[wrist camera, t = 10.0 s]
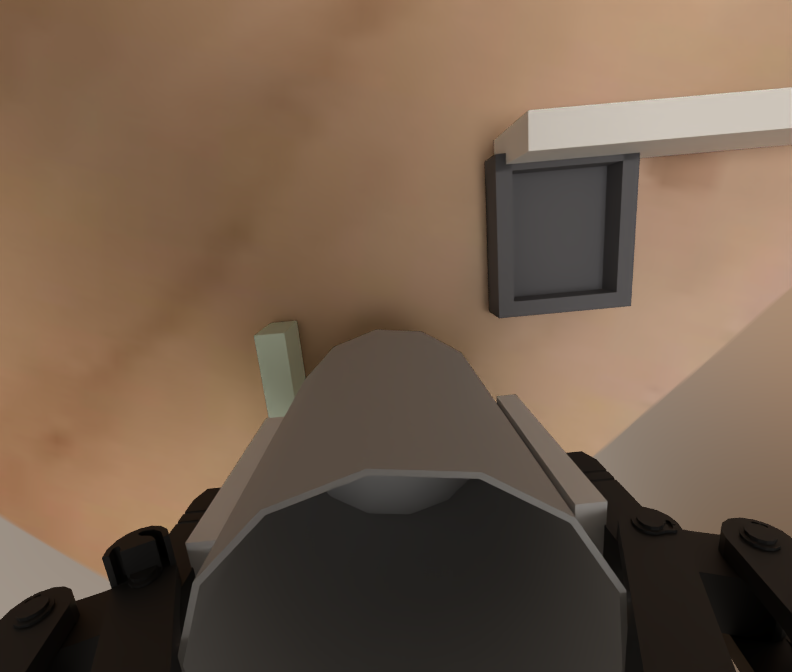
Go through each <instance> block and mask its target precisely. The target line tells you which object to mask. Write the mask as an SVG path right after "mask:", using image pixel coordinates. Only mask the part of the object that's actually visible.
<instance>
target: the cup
mask: <svg viewBox="0 0 792 672" xmlns="http://www.w3.org/2000/svg"><path fill="white" fill-rule="evenodd" d="M627 630H628V626H627V596H626V589H625V588H624V586H623V585H622V583H621V582H620V581H619V579H618V578H617V576H616V575H615V573H614V572H613V570H612V569H611V568H610V566H609V565H608V563H607V562H606V560H605V559H604V557H603V556H602V555H601V553H600V552H599V550H598V549H597V547H596V546H595V545H594V543H593V542H592V540H591V539H590V537H589V536H588V534H587V533H586V532H585V530H584V529H583V527H582V526H581V524H580V523H579V521H578V520H577V519H576V517H575V516H574V514H573V513H572V511H571V510H570V508H569V507H568V506H567V504H566V503H565V501H564V500H563V498H562V497H561V496H560V494H559V493H558V491H557V490H556V488H555V487H554V485H553V484H552V483H551V481H550V480H549V478H548V477H547V475H546V474H545V472H544V471H543V470H542V468H541V467H540V465H539V464H538V462H537V461H536V459H535V458H534V457H533V455H532V454H531V452H530V451H529V449H528V448H527V447H526V445H525V444H524V442H523V441H522V439H521V438H520V436H519V435H518V434H517V432H516V431H515V429H514V428H513V426H512V425H511V423H510V422H509V421H508V419H507V418H506V416H505V415H504V413H503V412H502V410H501V409H500V408H499V406H498V405H497V403H496V402H495V400H494V399H493V398H492V396H491V395H490V393H489V392H488V390H487V389H486V387H485V386H484V385H483V383H482V382H481V380H480V379H479V377H478V376H477V375H476V373H475V372H474V370H473V369H472V367H471V366H470V364H469V363H468V362H467V360H466V359H465V357H464V356H463V354H462V353H461V352H459V351H457V350H455V349H454V348H452V347H450V346H448V345H446V344H444V343H442V342H440V341H439V340H437V339H435V338H433V337H431V336H429V335H427V334H426V333H424V332H420V331H399V330H378V329H376V330H373V331H371V332H369V333H366V334H364V335H361V336H359V337H356V338H354V339H352V340H349V341H347V342H344V343H342V344H339V345H337V346H335V347H333V348H332V349H331V350H330V352H329V353H328V354H327V355H326V356H325V357H324V358H323V360H322V361H321V362H320V363H319V364H318V365H317V366H316V367H315V369H314V370H313V371H312V372H311V373H310V374H309V375H308V376H307V378H306V379H305V380H304V382H303V384H302V385H301V387H300V389H299V391H298V393H297V395H296V396H295V398H294V400H293V402H292V404H291V405H290V407H289V409H288V411H287V413H286V414H285V416H284V418H283V420H282V422H281V424H280V425H279V427H278V429H277V431H276V433H275V434H274V436H273V438H272V440H271V442H270V443H269V445H268V447H267V449H266V451H265V453H264V454H263V456H262V458H261V460H260V462H259V463H258V465H257V467H256V469H255V471H254V472H253V474H252V476H251V478H250V480H249V481H248V483H247V485H246V487H245V489H244V491H243V492H242V494H241V496H240V498H239V500H238V501H237V503H236V505H235V507H234V509H233V510H232V512H231V514H230V516H229V518H228V520H227V521H226V523H225V525H224V527H223V529H222V530H221V532H220V534H219V536H218V538H217V539H216V541H215V543H214V545H213V547H212V549H211V550H210V552H209V554H208V556H207V558H206V559H205V561H204V563H203V565H202V567H201V568H200V570H199V572H198V574H197V576H196V578H195V579H194V581H193V583H192V588H191V593H190V598H189V603H188V608H187V613H186V617H185V622H184V627H183V632H182V637H181V642H180V647H179V652H178V660H179V663H180V667H181V670H182V672H625V660H626V645H627Z"/></svg>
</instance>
